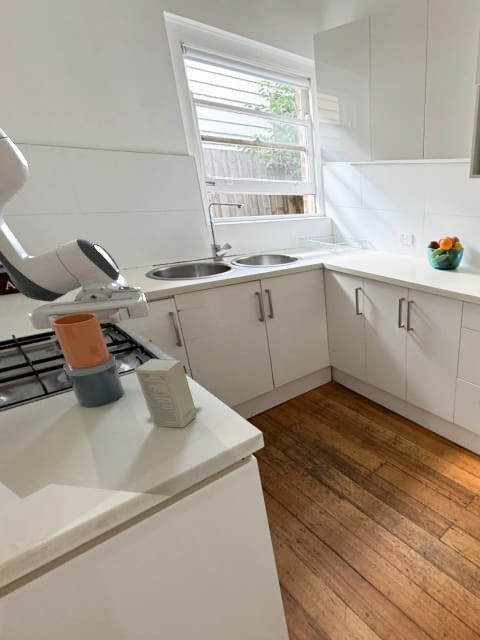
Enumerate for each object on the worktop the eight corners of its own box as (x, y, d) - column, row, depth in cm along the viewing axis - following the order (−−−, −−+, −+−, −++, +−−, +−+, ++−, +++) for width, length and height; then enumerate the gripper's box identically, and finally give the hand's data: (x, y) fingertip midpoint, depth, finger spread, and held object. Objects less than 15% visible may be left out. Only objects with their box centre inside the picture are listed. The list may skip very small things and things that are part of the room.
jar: (69, 401, 77) (54, 364, 74) (112, 384, 84) (101, 349, 81) (90, 412, 74) (76, 374, 71) (133, 393, 81) (122, 358, 77)
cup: (61, 363, 74) (44, 320, 71) (99, 351, 80) (85, 310, 76) (79, 371, 72) (62, 327, 68) (117, 358, 77) (104, 316, 74)
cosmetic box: (197, 415, 74) (184, 359, 69) (182, 429, 70) (167, 371, 65) (167, 412, 75) (151, 357, 70) (150, 426, 71) (133, 368, 66)
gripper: (36, 295, 83) (11, 315, 72) (147, 286, 92) (140, 302, 81) (47, 322, 85) (24, 345, 74) (154, 311, 94) (148, 330, 83)
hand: (85, 323), depth 77 cm, fingers open, 8 cm apart
